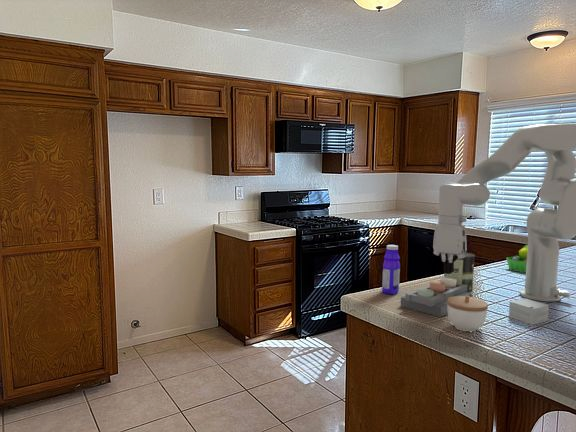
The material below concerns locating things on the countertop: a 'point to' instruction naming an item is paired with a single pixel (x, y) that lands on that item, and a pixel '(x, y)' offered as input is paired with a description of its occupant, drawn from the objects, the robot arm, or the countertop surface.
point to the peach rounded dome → (437, 286)
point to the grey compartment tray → (433, 300)
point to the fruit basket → (519, 260)
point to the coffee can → (464, 271)
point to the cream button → (449, 281)
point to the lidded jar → (466, 312)
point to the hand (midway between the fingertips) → (448, 273)
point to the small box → (528, 311)
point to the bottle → (391, 270)
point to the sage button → (425, 292)
